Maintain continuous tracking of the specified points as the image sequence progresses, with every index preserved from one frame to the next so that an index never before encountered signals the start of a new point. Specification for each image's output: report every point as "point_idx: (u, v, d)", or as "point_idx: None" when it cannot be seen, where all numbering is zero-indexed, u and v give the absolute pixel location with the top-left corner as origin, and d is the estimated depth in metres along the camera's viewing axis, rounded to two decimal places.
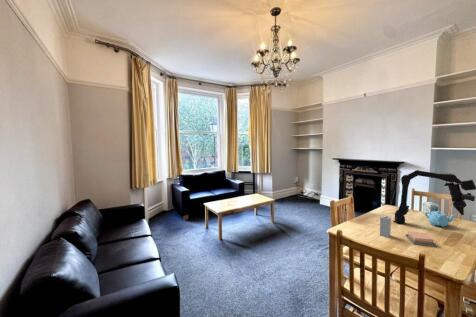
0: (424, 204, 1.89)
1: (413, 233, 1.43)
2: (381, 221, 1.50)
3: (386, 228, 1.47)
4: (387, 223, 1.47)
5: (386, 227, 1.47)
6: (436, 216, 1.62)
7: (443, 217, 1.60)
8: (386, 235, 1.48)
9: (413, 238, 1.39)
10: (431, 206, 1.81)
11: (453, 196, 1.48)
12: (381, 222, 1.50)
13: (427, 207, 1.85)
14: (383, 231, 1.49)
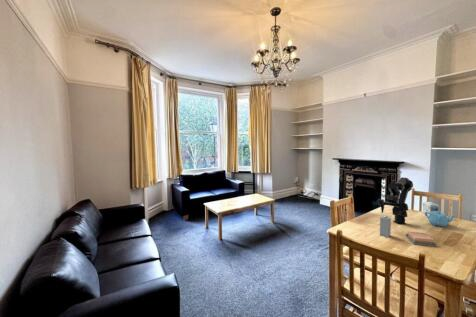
0: (424, 204, 1.89)
1: (413, 233, 1.43)
2: (381, 221, 1.50)
3: (386, 228, 1.47)
4: (387, 223, 1.47)
5: (386, 227, 1.47)
6: (436, 216, 1.62)
7: (443, 217, 1.60)
8: (386, 235, 1.48)
9: (413, 238, 1.39)
10: (431, 206, 1.81)
11: None
12: (381, 222, 1.50)
13: (427, 207, 1.85)
14: (383, 231, 1.49)
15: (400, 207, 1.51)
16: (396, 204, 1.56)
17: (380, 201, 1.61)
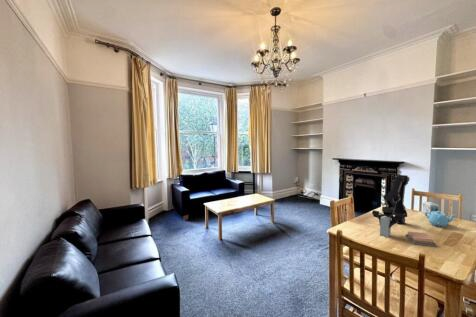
0: (424, 204, 1.89)
1: (413, 233, 1.43)
2: (381, 221, 1.49)
3: (386, 228, 1.47)
4: (387, 223, 1.47)
5: (386, 227, 1.47)
6: (436, 216, 1.62)
7: (443, 217, 1.60)
8: (386, 235, 1.48)
9: (413, 238, 1.39)
10: (431, 206, 1.81)
11: None
12: (381, 222, 1.50)
13: (427, 207, 1.85)
14: (383, 231, 1.49)
15: (393, 219, 1.47)
16: (392, 216, 1.50)
17: (375, 213, 1.56)
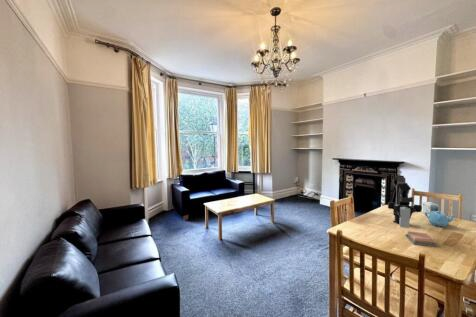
0: (424, 204, 1.89)
1: (413, 233, 1.43)
2: (402, 212, 1.46)
3: (407, 219, 1.44)
4: (409, 214, 1.44)
5: (407, 218, 1.44)
6: (436, 216, 1.62)
7: (443, 217, 1.60)
8: (407, 226, 1.45)
9: (413, 238, 1.39)
10: (431, 206, 1.81)
11: None
12: (402, 213, 1.46)
13: (427, 207, 1.85)
14: (404, 222, 1.46)
15: (412, 209, 1.46)
16: None
17: (392, 204, 1.52)
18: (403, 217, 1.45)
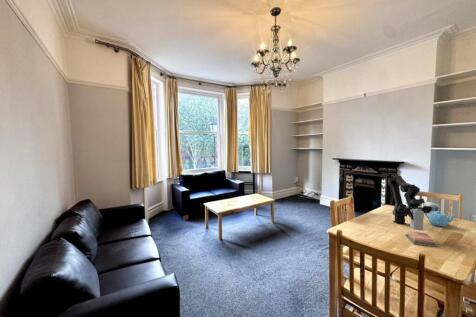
0: (424, 204, 1.89)
1: (413, 233, 1.43)
2: (416, 214, 1.42)
3: (421, 221, 1.41)
4: (422, 216, 1.41)
5: (421, 220, 1.41)
6: (436, 216, 1.62)
7: (443, 217, 1.60)
8: (420, 228, 1.42)
9: (413, 238, 1.39)
10: (431, 206, 1.81)
11: None
12: (416, 216, 1.42)
13: None
14: (417, 225, 1.42)
15: (423, 210, 1.44)
16: None
17: (404, 207, 1.47)
18: (417, 219, 1.42)
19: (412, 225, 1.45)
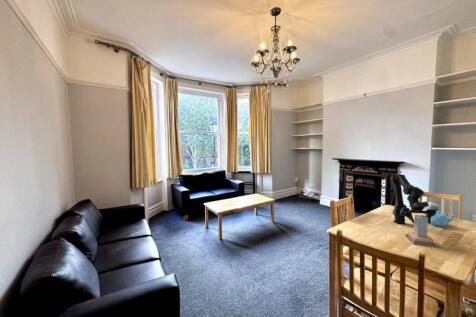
0: None
1: (413, 233, 1.43)
2: (419, 221, 1.38)
3: (425, 228, 1.37)
4: (426, 222, 1.36)
5: (425, 227, 1.37)
6: (436, 216, 1.62)
7: (443, 217, 1.60)
8: (425, 235, 1.37)
9: (413, 238, 1.39)
10: (431, 206, 1.81)
11: None
12: (419, 222, 1.38)
13: (427, 207, 1.85)
14: (421, 231, 1.38)
15: (430, 214, 1.39)
16: (422, 211, 1.42)
17: (407, 210, 1.43)
18: (421, 226, 1.38)
19: (416, 232, 1.40)
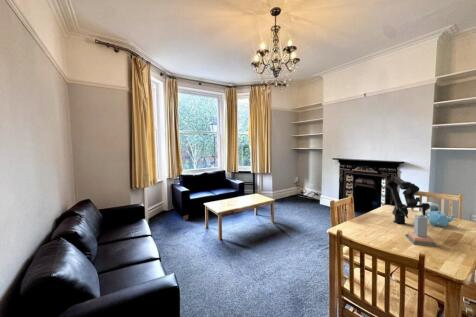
0: None
1: (413, 233, 1.43)
2: (419, 221, 1.38)
3: (425, 228, 1.37)
4: (426, 222, 1.36)
5: (425, 227, 1.37)
6: (436, 216, 1.62)
7: (443, 217, 1.60)
8: (425, 235, 1.37)
9: (413, 238, 1.39)
10: (431, 206, 1.81)
11: None
12: (419, 222, 1.38)
13: None
14: (421, 231, 1.38)
15: (424, 208, 1.47)
16: (417, 205, 1.51)
17: (401, 206, 1.53)
18: (420, 226, 1.38)
19: (416, 232, 1.40)
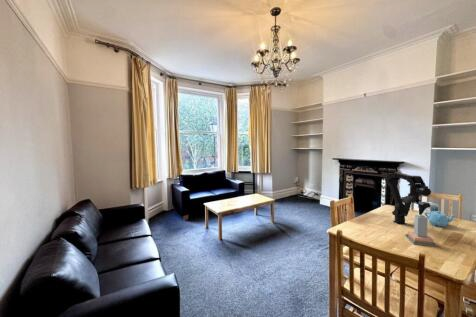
0: None
1: (413, 233, 1.43)
2: (419, 221, 1.38)
3: (425, 228, 1.37)
4: (426, 222, 1.36)
5: (425, 227, 1.37)
6: (436, 216, 1.62)
7: (443, 217, 1.60)
8: (425, 235, 1.37)
9: (413, 238, 1.39)
10: (431, 206, 1.81)
11: None
12: (419, 222, 1.38)
13: None
14: (421, 231, 1.38)
15: (419, 207, 1.50)
16: (417, 202, 1.53)
17: (402, 201, 1.62)
18: (420, 226, 1.38)
19: (416, 232, 1.40)
